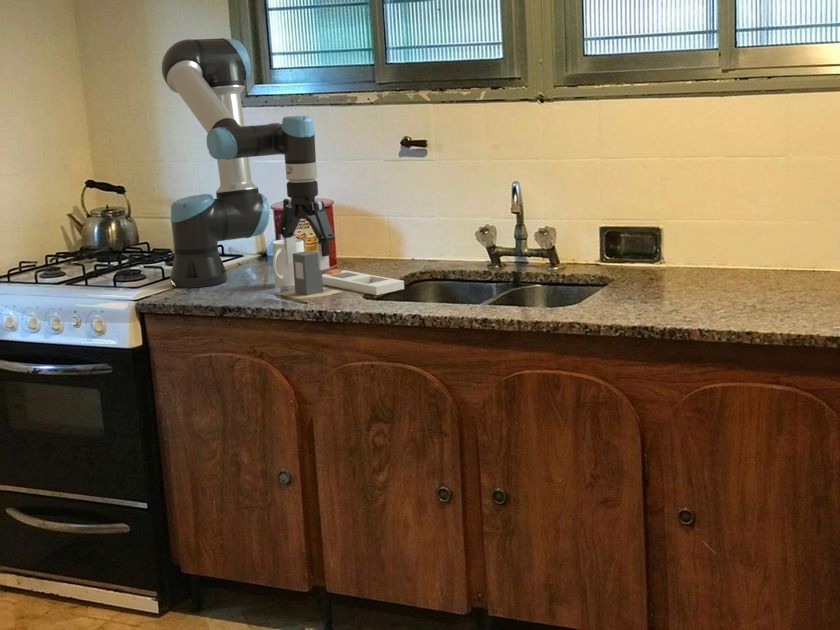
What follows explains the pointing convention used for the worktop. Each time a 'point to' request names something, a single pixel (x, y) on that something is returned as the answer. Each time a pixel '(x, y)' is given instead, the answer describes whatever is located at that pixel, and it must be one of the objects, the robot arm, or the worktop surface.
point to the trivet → (304, 297)
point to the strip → (361, 282)
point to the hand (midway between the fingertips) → (307, 266)
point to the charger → (307, 273)
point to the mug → (284, 263)
